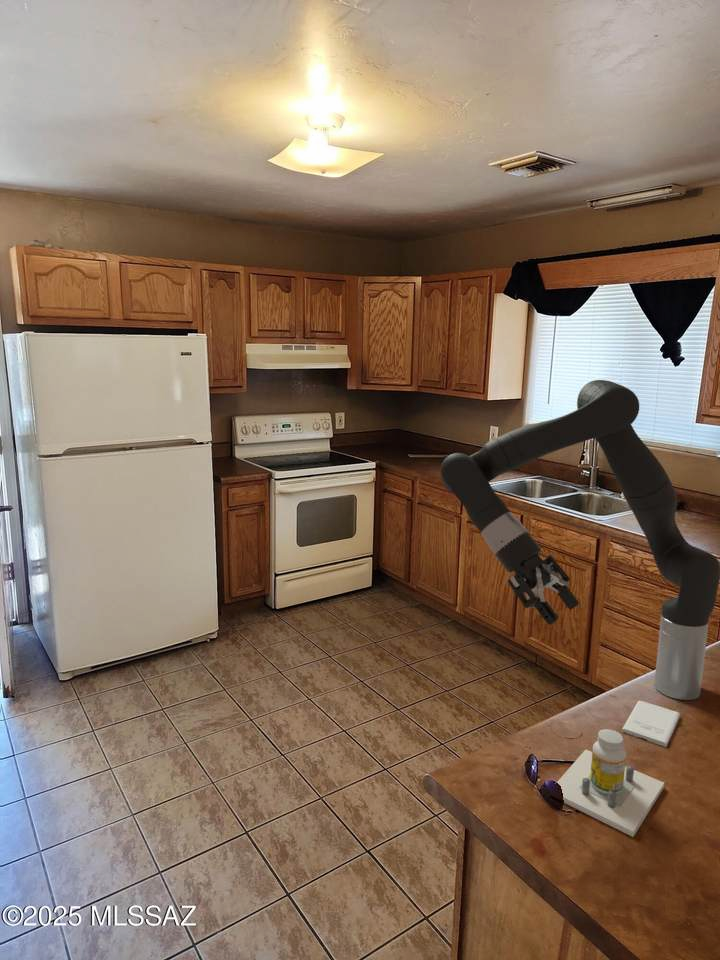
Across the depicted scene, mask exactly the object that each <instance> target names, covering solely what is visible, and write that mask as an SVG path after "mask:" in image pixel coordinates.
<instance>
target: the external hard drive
mask: <svg viewBox="0 0 720 960" xmlns="http://www.w3.org/2000/svg"><path fill="white" fill-rule="evenodd" d="M680 717H681V714H680V712H678V711H674V710H671V709H670V708H666V707H663V706H659V705H656V704H653V703H650V702H647V701H643V700H638V701H637V703H636V704H635V706H634V708H633V709H632V712H630V715H629V717H628V718H627V720H626V722H625V723H624V724H623V727H622V729H621V733H623V732H625V733H624V734H626V733H627V735H629V734H630V735H629V736H632V735H633V737H635V738H638V737H639V738H638V739H642V738H643V740H645V739H646V741H647V742H649V743H653V744H655V745H658V746H661V747H664V748H667V746H668V744H669V742H670V739H671V738H672V735H673V733H674V731H675V729H676V727H677V724H678V722H679V721H680Z"/></svg>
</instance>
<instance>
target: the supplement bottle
mask: <svg viewBox="0 0 720 960" xmlns="http://www.w3.org/2000/svg"><path fill="white" fill-rule="evenodd" d="M597 733H598V734H597V741H595V742H594V743H593V745H592V750H591V752H592V763H591V775H590V782H591V784H592V786H593V787H594V788H595V789H596V790H597V791H599V792H601V793H603V794H606V795H608V792H609V790H614V791H615V792H616V795H617V794H619V793H620V792H622V790H623V785H624V773H625V766H626V760H627V752H626V750H625V747H624V737H623V736H622V734H620V732H619V731H615V730H613V729H609V728H606V729H605V728H604V729H600V730H599V731H598V732H597Z"/></svg>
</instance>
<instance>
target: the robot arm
mask: <svg viewBox="0 0 720 960" xmlns="http://www.w3.org/2000/svg"><path fill="white" fill-rule="evenodd" d="M576 408H577V409H576V410H574V411H572V412H569V413H567V414H565V415H564V414H563V415H562V416H559V417H556V418H553V419H549V420H545V421H540V422H536V423H532V424H528V425H524V426H521V427H519V428H515V429H514V430H513V429H512V430H510V431H508V432H507V433H504V434H501V435H500V436H498V437H496V438H493V439H490V440H489V441H488V442H486V443H485V444H483V446H482V448H481V449H480V450H478V451H477V452H475V453H473V454H470V455H467V454H465V453H461V452H455V453H452V454H449V455H448V456H446V457H445V458H444V460H443V461H442V463H441V466H440V477H441V480H442V484H443V486H444V488H445V489H446V490H447V491H448V492H449V493H452V494H453V495H454V496H456V498H457V499H458V500H459V502H460V503H461V505H462V506H463V507H464V510H465V512H466V515H468V517H469V519H470V521H471V522H472V523H473V525H474V526H475V527H476V529H477V530H478V531H479V533H480V535H481V536H482V537H483V539H484V541H485V543H486V544H487V546H488V548H489V549H490V550H491V551H492V553H493V554H494V555H495V556H496V558H497V560H498V561H499V562H500V563H501V565H502V566H503V568H504V569H505V571H507V572H508V573H514V575H513V576H511V577H510V578H509V579H507V583H508V584H509V586H510V587H511V589H512V590H513V592H514V593H515V595H516V596H517V598H518V599H519V601H520V602H521V604H522V605H523V606H524V608H526V609H529V608H533V609H535V610H536V611H538V613H539V615H541V617H542V618H543V620H544V621H545V622H546V623H547V625H549V626H551V625H552V624H554V623H556V622H557V621H559V616H558V614H557V613H556V612H555V611H554V609H553V608H552V606H551V605H550V604H549V602H548V601H547V600H546V598H545V596H544V595H545V594H544V590H545V589H551V590H552V591H555V592H556V593H557V595H558V597H559V598H560V599H561V601H562V602H563V603H564V605H565V606H566V608H568V610H573V609H574V608H576V607H578V605H580V602H579V600H578V598H577V597H576V596H575V595H574V594H573V592H572V591H571V590H570V589H569V587H568V585H569V584H568V583H569V581H570V577H569V575H568V574H567V573H566V572H565V570H564V569H563V568H562V566H560V564H559V563H558V562H557V561H556V559H555V558H554V557H553V556H552V555H551V554H548V555H547V556H546V557H544V558H543V559H542V558H541V557H540V556H539V554H540V553H541V552H542V549H541V547H540V546H539V544H537V541H536V540H535V539H534V538H533V537H532V535H531V534H530V532H529V531H528V530H527V529H526V528H525V526H524V525H523V524H522V522H521V521H520V520H519V519H518V518H517V517H516V516H515V515H514V514H513V513H512V512H511V510H510V509H509V508H508V506H507V505H506V504H505V502H504V501H503V499H501V498H500V496H499V495H498V494H497V493H496V492H495V491H494V489H493V488H492V486H491V484H490V483H489V482H491V481H493V480H494V479H496V478H497V477H499V476H501V475H503V474H505V473H509V472H511V471H512V470H515V469H517V468H519V467H522V466H524V465H526V464H528V463H531V462H533V461H536V460H537V459H540V458H541V457H544V456H546V455H548V454H552V453H554V452H557V451H559V450H562V449H565V448H568V447H571V446H574V445H577V444H580V443H583V442H587V441H590V440H594V439H595V440H596V442H597V443H598V444H599V446H600V448H601V450H602V451H603V454H604V456H605V457H606V460H607V463H608V465H609V467H610V470H611V472H612V474H613V476H614V478H615V480H616V483H617V484H618V486H619V488H620V491H621V493H622V494H623V497H624V499H625V501H626V503H627V505H628V507H629V508H630V510H631V512H632V513H633V515H634V517H635V520H636V521H637V524H638V525H639V527H640V528H641V531H642V532H643V534H644V536H645V538H646V540H647V543H648V546H649V548H650V551H651V553H652V556H653V559H654V562H655V564H656V568H657V569H658V572H659V573H660V576H662V577H663V578H664V579H665V580H666V581H667V582H669V583H671V584H673V585H675V586H677V587H678V588H679V590H678V596H677V597H673V598H668V599H665V600H664V601H663V602H662V604H661V613H660V625H659V634H658V644H657V645H658V646H657V656H656V662H655V663H656V666H655V674H654V683H653V685H654V688H655V689H656V690H657V691H658V692H659V693H661V694H662V695H664V696H667V697H669V698H672V699H676V700H681V701H682V700H683V701H693V700H696V699H699V698H700V696H701V692H702V691H701V690H702V680H703V675H704V674H703V673H704V667H705V666H704V665H705V655H706V649H707V648H706V647H707V639H708V630H709V620H710V616H711V615H712V613H713V610H714V609H715V605H716V600H717V596H718V595H717V594H718V591H719V590H718V588H719V585H720V562H719V560H718V558H717V557H716V556H715V555H714V554H712V553H710V552H709V551H707V550H703V549H701V548H698V547H696V546H694V545H692V544H690V543H689V542H688V541H687V540H686V539H685V537H684V536H683V534H682V532H681V531H680V528H679V527H678V524H677V523H676V512H677V509H678V508H677V507H678V497H677V492H676V490H675V488H674V485H673V484H672V481H671V479H670V478H669V475H668V474H667V471H666V470H665V468H664V466H663V465H662V463H661V462H660V461H659V460H658V458H657V457H656V455H655V454H653V452H652V451H651V449H650V448H649V447H648V446H647V445H646V444H645V443H644V442H643V440H642V439H641V438H640V437H639V435H638V434H637V433H636V431H635V429H634V426H633V425H632V424H633V423H634V422H635V420H636V419H637V417H638V415H639V412H640V400H639V399H638V396H637V395H636V393H635V392H634V391H632V390H631V389H629V388H628V387H626V386H624V385H622V384H619V383H616V382H613V381H611V380H605V379H594V380H592V381H589V382H587V383H586V384H585V385H583V386H582V388H580V391H579V392H578V396H577V401H576ZM560 576H561V577H560ZM526 597H528V599H527V598H526Z"/></svg>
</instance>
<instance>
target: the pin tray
mask: <svg viewBox="0 0 720 960" xmlns="http://www.w3.org/2000/svg"><path fill="white" fill-rule="evenodd" d="M591 763H592V750H588V749H584V750H583V752H582V753H580V755H579V756H578V758H577V759H576V760H575V761H574V762H572V765H570V767H569V768H568V769H567V770H566V771H565V772H564V773H563V775H562V776H561V777H560V778H559V779H558V780H557V782H556V783H558V784H559V785H560V786H561V789H562V793H563V800H564V804H566V805H568V806H569V807H572V808H574V809H576V810H578V811H579V812H581V813H584V814H586V815H588V816H589V817H592V818H593V819H596V820H597V821H600V822H602V823H604V824H606V825H608V826H610V827H612V828H614V829H616V830H618V831H620V832H622V833H624V834H626V835H629V836H630V837H632V838H634V837H635V835H636V833H638V830H639V828H640V827H641V826H642V824H643V822H644V821H645V819H646V817H647V816H648V814H649V813H650V811H651V809H652V807H653V806H654V804H655V803H656V801H657V800H658V798H659V796H660V795H661V793H662V791H663V790H664V788H665V782H664V781H661V780H659V779H657V778H655V777H652V776H649V775H647V774H645V773H642V772H640V771H638V770H635V767H633V766H632V765H625V773H624V785H623V790H622V792H620V793H619V794H617V795H616V792H615V791H614V790H609V792H608V795H606V794H603V793H601V792H599V791H597V790H596V789H595V788H594V787H593V786H592V784H591V782H590V775H591Z"/></svg>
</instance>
